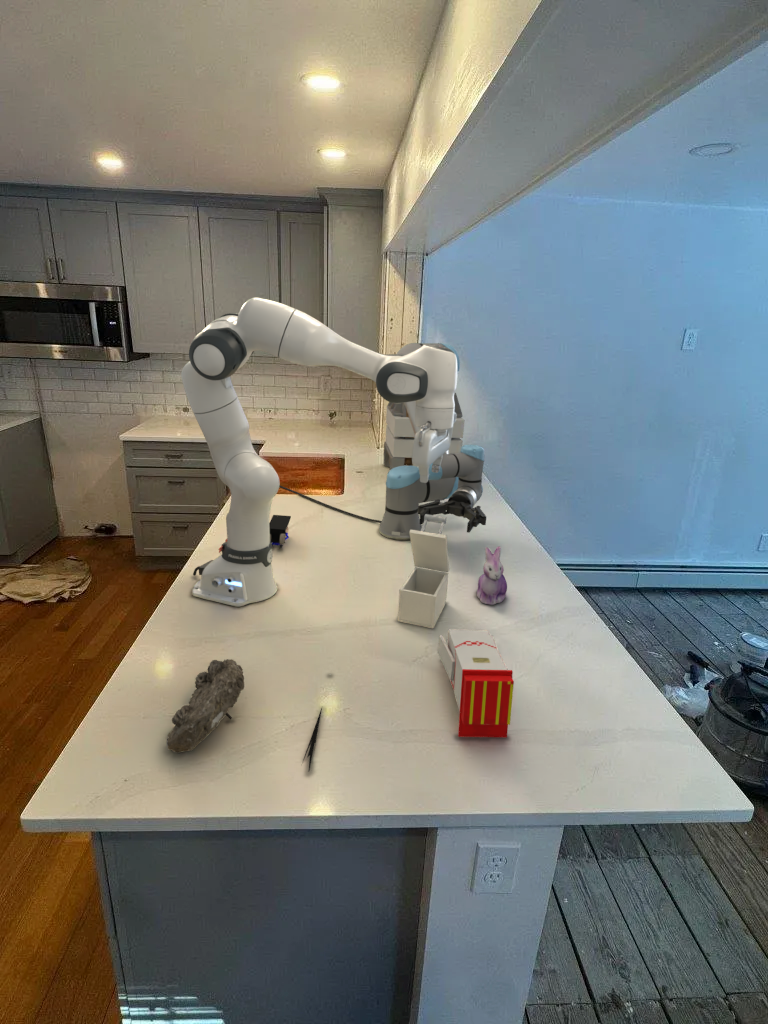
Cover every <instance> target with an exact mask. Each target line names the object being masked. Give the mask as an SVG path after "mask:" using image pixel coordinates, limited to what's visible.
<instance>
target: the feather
mask: <svg viewBox="0 0 768 1024" xmlns="http://www.w3.org/2000/svg"><path fill="white" fill-rule="evenodd" d="M329 675H330V676H331V675H332V674H331V673H330V674H329ZM322 710H323V707H321V708H320V710H319V713H318V716H317V719H316V723H315V725H314V728H313V731H312V733H311V737H310V739H309V742H308V745H307V748H306V751H305V754H304V757H303V760H302V763H301V767H302V765H303V763H304V761H305V758H308V759H309V760H308V762H307V763H308V764H307V766H308V771H310V770H311V766H312V765H311V764H312V760H313V757H315V756H314V755H315V751H316V749H315V746H317V739H318V733H319V729H320V722H321V717H322V712H323V711H322ZM313 754H314V755H313ZM306 755H307V757H306Z"/></svg>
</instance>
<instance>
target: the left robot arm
mask: <svg viewBox="0 0 768 1024" xmlns="http://www.w3.org/2000/svg"><path fill="white" fill-rule="evenodd" d="M188 349H189V350H188V358H189V361H187V362H186V363H185V364H184V366H183V367H182V369H181V372H180V377H181V382H182V385H183V386H182V387H183V390H184V393H185V395H186V398H187V401H188V404H189V406H190V409H191V411H192V413H193V415H194V417H195V419H196V422H197V424H198V426H199V428H200V430H201V432H202V435H203V437H204V439H205V442H206V444H207V447H208V451H209V454H210V457H211V460H212V463H213V466H214V468H215V471H216V474H217V476H218V478H219V480H220V481H221V482H222V483H223V484H224V485H225V486H226V487H228V489H229V492H230V504H229V510H228V513H226V517H225V523H226V539H225V542H223V543H222V544H221V546H220V547H219V548H218V553H219V554H220V553H221V554H220V555H219V556H217V557H216V558H214V559H210V560H209V561H207V562H204V563H203V564H201V565H198V566H197V567H195V568H194V570H193V574H192V575H193V577H194V576H195V577H196V576H197V572H198V575H199V576H200V579H199V580H198V581H197V582H196V583H195V584H194V585H193V587H192V596H193V597H195V598H201V599H204V600H208V601H213V602H217V603H220V604H224V605H227V606H231V607H236V608H239V607H243V606H247V605H248V604H253V603H258V602H262V601H265V600H267V599H270V598H272V597H273V596H274V595H275V594H276V593H277V591H278V586H277V583H276V580H275V577H274V572H273V566H272V562H273V548H272V543H271V541H270V526H269V523H270V516H271V508H272V503H273V501H274V500H273V499H274V498H275V497H276V495H277V494H278V492H279V489H280V487H279V485H280V484H281V483H280V476H279V475H278V473H277V470H276V469H275V468H274V467H273V465H272V464H271V463H270V462H269V461H267V460H266V459H264V458H262V457H261V456H259V454H258V453H257V452H256V450H255V449H254V446H253V443H252V438H251V434H250V423H249V420H248V418H247V416H246V413H245V411H244V409H243V406H242V404H241V401H240V399H239V396H238V394H237V392H236V389H235V387H234V385H233V382H232V377H231V376H233V375H234V374H235V373H236V372H237V371H238V370H239V369H241V368H242V367H244V366H245V364H246V363H247V361H248V360H249V358H250V357H251V356H252V355H253V354H254V352H258V351H259V352H264V353H267V354H269V355H272V356H274V357H275V358H279V359H281V360H282V361H286V362H288V363H292V364H295V365H299V366H304V367H323V366H332V367H337V368H341V369H344V370H347V371H350V372H351V373H354V374H357V375H360V376H362V377H365V378H367V379H369V380H371V381H372V382H374V383H375V387H376V390H377V392H378V394H379V396H381V398H382V399H383V400H385V401H387V402H388V403H389V402H391V403H404V402H411V401H416V411H415V426H417V427H420V430H419V431H418V432H417V433H416V434H415V438H414V444H413V453H412V464H413V466H417V467H419V472H420V482H422V483H427V482H428V481H429V465H430V464H432V463H433V465H432V470H431V471H432V472H435V473H438V472H439V471H440V465H441V461H442V458H443V454H444V453H445V452H446V451H448V449H449V447H450V443H451V438H452V431H453V424H454V422H455V421H456V413H455V412H454V410H455V402H454V393H456V390H457V387H458V375H457V357H456V355H455V354H454V352H453V351H452V350H451V349H449V348H446V347H443V346H439V345H435V344H424V345H423V346H422V347H420V348H419V349H417V350H415V351H413V352H411V353H409V354H407V355H402V354H397V353H392V354H391V353H390V354H384V353H380V352H377V351H375V350H373V349H370V348H367V347H365V346H363V345H360V344H357V343H355V342H352V341H351V340H348V339H347V338H345V337H343V336H341V335H340V334H338V333H337V332H336V331H334V330H333V329H332V328H331V327H328V326H327V325H325V324H324V323H323V322H321V321H320V320H318V319H316V318H314V317H313V316H311V315H309V314H308V313H306V312H304V311H302V310H299V309H297V308H294V307H292V306H290V305H287V304H284V303H281V302H279V301H274V300H271V299H267V298H262V297H252V298H249V299H247V300H246V302H244V303H243V305H242V306H241V307H240V309H239V312H230V313H225V314H222V315H221V316H219V317H218V318H216V319H214V320H212V321H210V322H209V323H208V324H207V325H206V326H205V327H204V328H203V329H202V330H201V331H200V332H199V333H197V334H196V335H195V336H194V337H193V339H192V341H191V343H190V345H189V348H188ZM280 486H281V485H280Z"/></svg>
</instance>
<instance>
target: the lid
mask: <svg viewBox="0 0 768 1024" xmlns="http://www.w3.org/2000/svg"><path fill="white" fill-rule="evenodd" d="M447 518H448V517H447V516H442V515H437V514H436V515H429V514H425V516H424V523H423V524H422V529H421V531H417V530H410V532H409V533H410V540H409V541H410V545H411V552H412V558H413V566H414V568H415V567H417V568H423V569H429V570H434V571H440V572H445V573H449V572H450V561H449V550H448V549H449V548H448V537H447V534H443V531H444V527H445V525H446V524H447ZM428 522H430V523H436V524H440V527H439V530H438V533H436V532H428V531H426V526H427V523H428Z"/></svg>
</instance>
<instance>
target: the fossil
mask: <svg viewBox="0 0 768 1024" xmlns="http://www.w3.org/2000/svg"><path fill="white" fill-rule="evenodd" d="M243 670H244V669H243V667H242V665H240V664H237V662H236V661H235V660H234V659H232V658H231V659H227V658H226V659H224V660H223V661H222V660H217V659H212V660H211V661H210V663H209V665H208V666H207V671H201V672H199V673H198V674H197V675H196V676H195V680H194V684H195V685H194V687H195V689H194V690H193V693H192V694H191V697H190V698H189V700H188V704H184V705H182V706H181V707H180V709H177V710H176V711H175V713H174V715H173V716H172V718H171V723H172V724H173V727H172V730H171V731H170V732H168V734H167V738H166V741H167V742H166V745H167V749H168V750H169V751H173V752H174V753H176V754H178V753H182V752H188V751H189V752H192V751H193V750H195V748H196V747H197V746H199V744H200V743H201V742H203V741H204V740H205V739H206V738H207V737H208V736H209V735H210V734H211V733H212V732H214V730H215V729H217V727H218V726H219V724H220V722H221V721H222V720H223V719H224V718H225V716H226V717H227V719H229V720H233V717H232V715H230V714H229V710H230V709H231V708H234V706H235V704H236V703H237V702H238V699H239V697H240V695H241V693H242V691H243V690H245V689H244V688H245V675H244V671H243Z"/></svg>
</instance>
